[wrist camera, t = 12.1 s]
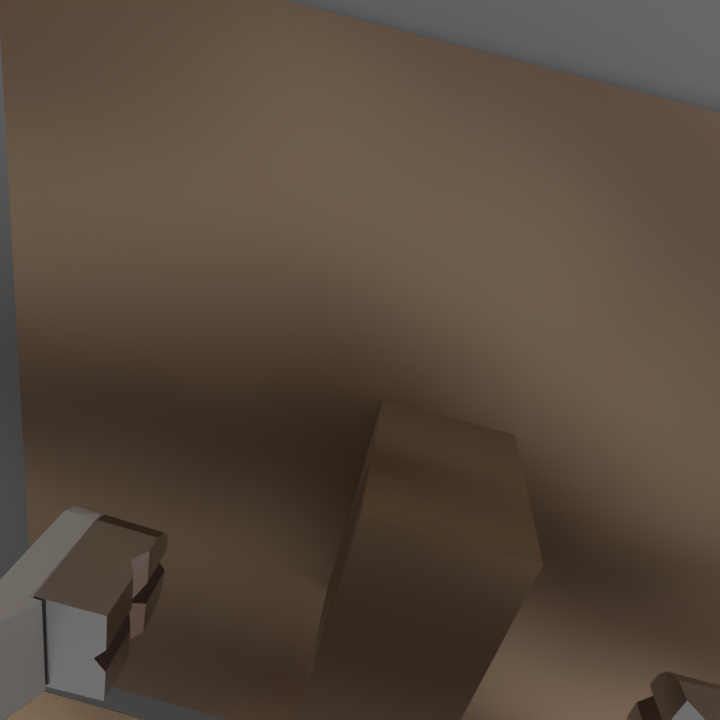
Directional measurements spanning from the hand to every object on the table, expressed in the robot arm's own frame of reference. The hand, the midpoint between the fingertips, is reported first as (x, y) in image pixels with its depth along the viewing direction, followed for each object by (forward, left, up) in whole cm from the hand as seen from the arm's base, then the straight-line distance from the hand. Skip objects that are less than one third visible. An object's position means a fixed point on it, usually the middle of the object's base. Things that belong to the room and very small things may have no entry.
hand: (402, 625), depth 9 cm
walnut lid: (0, 0, -3) cm, 3 cm away
